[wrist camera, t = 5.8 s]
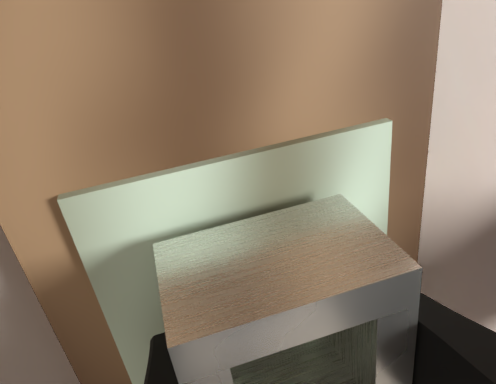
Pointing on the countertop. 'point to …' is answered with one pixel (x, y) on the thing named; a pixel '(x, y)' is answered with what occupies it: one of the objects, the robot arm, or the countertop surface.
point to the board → (195, 140)
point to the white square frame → (290, 300)
